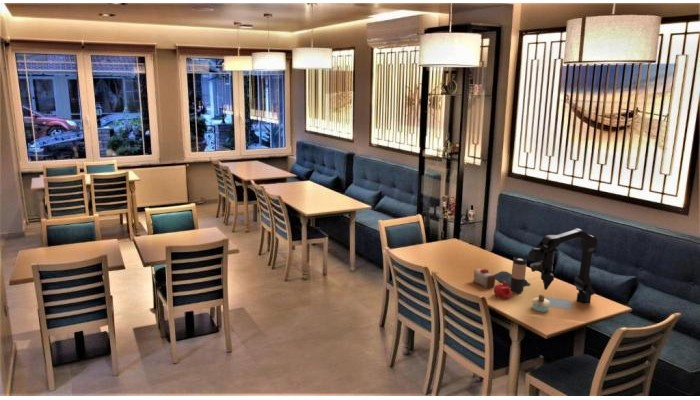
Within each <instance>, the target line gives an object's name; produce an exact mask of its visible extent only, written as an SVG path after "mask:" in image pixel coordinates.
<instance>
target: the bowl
mask: <svg viewBox="0 0 700 400" xmlns="http://www.w3.org/2000/svg"><path fill="white" fill-rule="evenodd" d="M531 306H532V309H534V311H537V312H543V313H545V312H548V311H549V308H550V307H549V306H538V305H535V304H534V303H532V305H531Z"/></svg>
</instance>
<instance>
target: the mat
mask: <svg viewBox="0 0 700 400" xmlns="http://www.w3.org/2000/svg"><path fill="white" fill-rule="evenodd" d="M545 299H547V300H549V301H550V305H549V308H553V309H554V308H555V309H562V310H570V311H574V308H573V303H572V301H571V299H565V298H558V297H551V296H550V297H549V296H546V297H545Z"/></svg>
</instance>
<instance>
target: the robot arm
mask: <svg viewBox="0 0 700 400" xmlns="http://www.w3.org/2000/svg"><path fill="white" fill-rule="evenodd" d="M575 239H579V240H580V243H579V244H580V247H581V249H582V251H581V252H582V253H581V259H580V260H581V261H580V269H579V274H578V276H575V277H574V282H573V284H574V286H575V289H576V290H577V291H578V292H577V293H576V299H575V301H576V302H579V303H581V304H591V300H592V296H593V295H595V293H596V291H595V290H594V288H593V286H592V280H591V278H590V272H591V265H592V257H593V251H594V250H596V248H597V246H598V245H597V244H598V238H597V237H596V236H594V235H591V234H588V233H587V232H585V231H584V230H582V229H580V228H574V229H573V230H572V229H571V230H570V231H566V232H562V233H559V234H549V235H548V234H547V235H544V236H543V237H542V238H541V241H540V242H539V243H538V245H536V247H532V248H531V250H529V252H528V259H529V260H530V261H531V263H530V265H529V266H530V269H531V272H532V273H535V272H537V271H539V272H540V279H541V280H542V283H543V289H544V291H545V290H548V288H549V287H550V285H551V284H552V282H554V279H555V276H554V274H553V272H554V271H553V269H554V267H553V265H554V259H555V258H554V257H555V252H559V250H558V249H557V248H558V247H559V246H560V245H561V244H563V243H566V242H569V241H572V240H575ZM536 261H537V262H536ZM532 262H533V263H532Z"/></svg>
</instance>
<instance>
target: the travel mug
mask: <svg viewBox="0 0 700 400" xmlns="http://www.w3.org/2000/svg"><path fill="white" fill-rule="evenodd" d="M527 261H528V260H527V258H525V257H523V256H513V260H512V266H511V267H512V268H511V274H512V275H511V288H510V289H511V291H512V293H515V294H521V293H522V292H524V289H525V288H524V287H525V286H524V281H525V280H526V274H527V273H526V271H527Z"/></svg>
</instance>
